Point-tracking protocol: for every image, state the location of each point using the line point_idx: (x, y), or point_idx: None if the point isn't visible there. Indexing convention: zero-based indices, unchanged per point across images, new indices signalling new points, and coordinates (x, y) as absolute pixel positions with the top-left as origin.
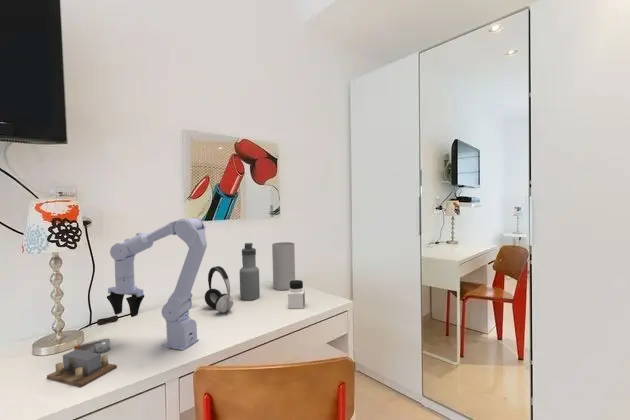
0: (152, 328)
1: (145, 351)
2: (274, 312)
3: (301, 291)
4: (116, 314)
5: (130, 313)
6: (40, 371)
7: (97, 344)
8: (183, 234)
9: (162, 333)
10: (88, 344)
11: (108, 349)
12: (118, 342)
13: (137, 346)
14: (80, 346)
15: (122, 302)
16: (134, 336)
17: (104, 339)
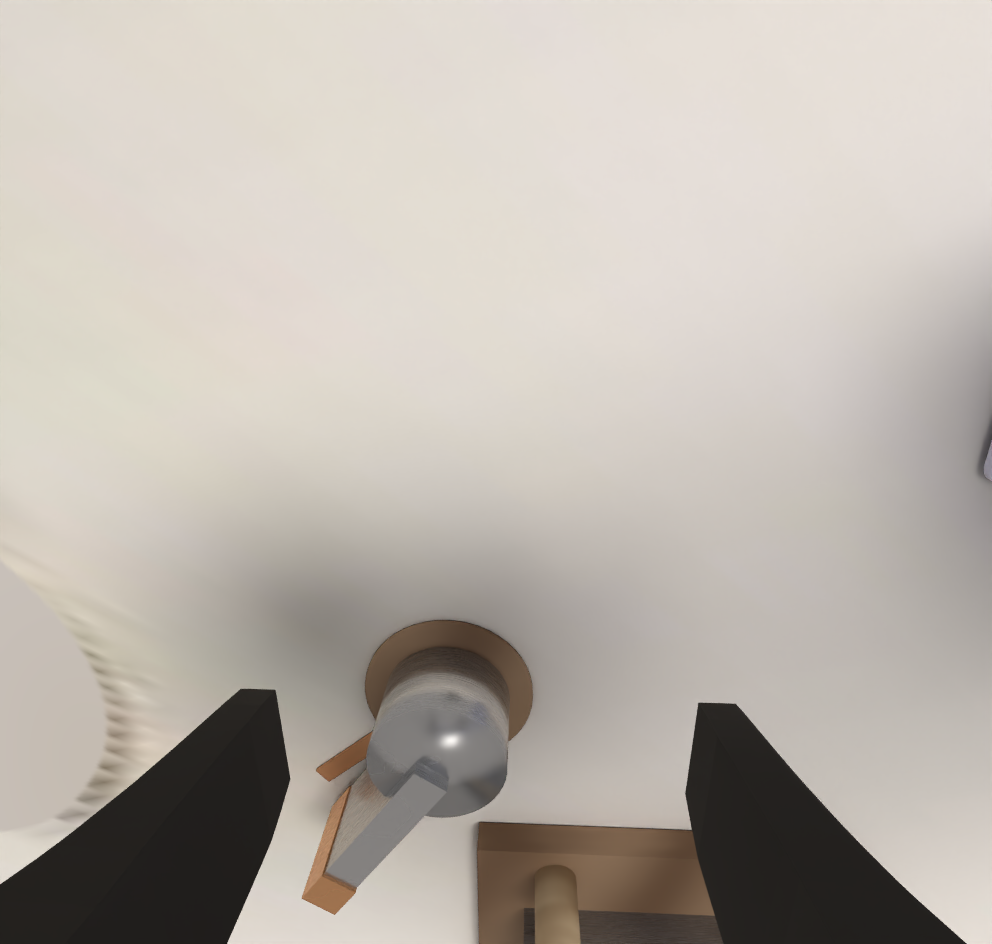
0: (435, 41)
1: (868, 591)
2: None
3: None
4: (286, 780)
5: (713, 880)
6: (325, 940)
7: (459, 813)
8: None
9: (738, 153)
10: (390, 847)
11: (508, 697)
12: (401, 520)
13: (694, 534)
14: (359, 880)
15: (135, 859)
16: (430, 352)
17: (407, 729)
